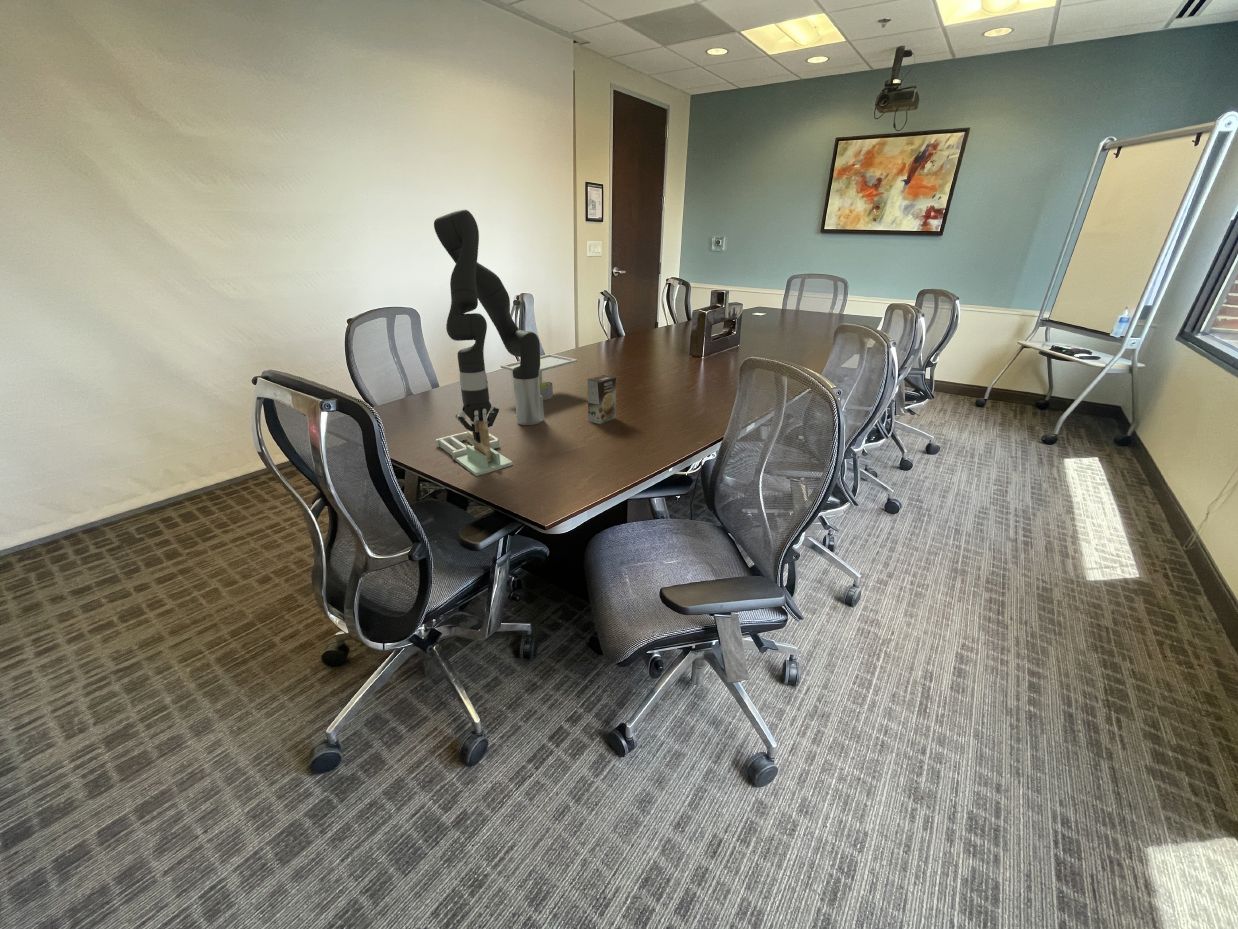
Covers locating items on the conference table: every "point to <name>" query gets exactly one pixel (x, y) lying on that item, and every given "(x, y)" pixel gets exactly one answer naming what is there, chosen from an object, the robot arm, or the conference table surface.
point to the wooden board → (483, 440)
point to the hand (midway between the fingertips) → (481, 441)
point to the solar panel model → (545, 364)
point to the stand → (482, 461)
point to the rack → (460, 444)
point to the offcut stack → (470, 438)
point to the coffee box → (601, 399)
